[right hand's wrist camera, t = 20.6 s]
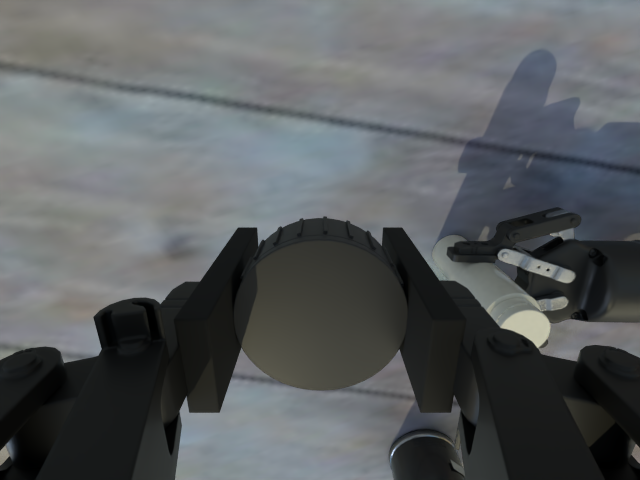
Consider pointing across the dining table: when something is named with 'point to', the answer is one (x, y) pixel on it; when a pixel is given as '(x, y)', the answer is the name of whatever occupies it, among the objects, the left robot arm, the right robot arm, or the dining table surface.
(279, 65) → the dining table surface
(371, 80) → the dining table surface
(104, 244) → the dining table surface
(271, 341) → the lid
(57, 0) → the dining table surface
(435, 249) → the jar
